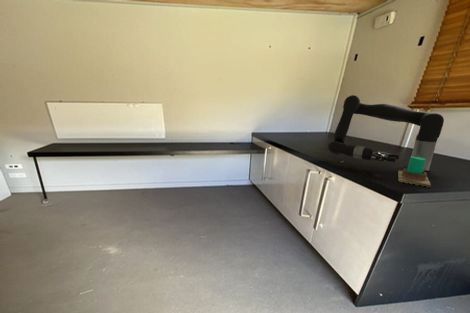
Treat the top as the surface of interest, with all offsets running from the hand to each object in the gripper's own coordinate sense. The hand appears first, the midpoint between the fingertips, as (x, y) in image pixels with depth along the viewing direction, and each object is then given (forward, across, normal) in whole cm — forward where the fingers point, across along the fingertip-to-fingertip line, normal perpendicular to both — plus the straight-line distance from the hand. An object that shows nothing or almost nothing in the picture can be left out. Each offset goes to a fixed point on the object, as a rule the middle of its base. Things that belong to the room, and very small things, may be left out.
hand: (397, 158), depth 110 cm
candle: (+8, 0, +8) cm, 12 cm away
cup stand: (+8, 0, +9) cm, 12 cm away
